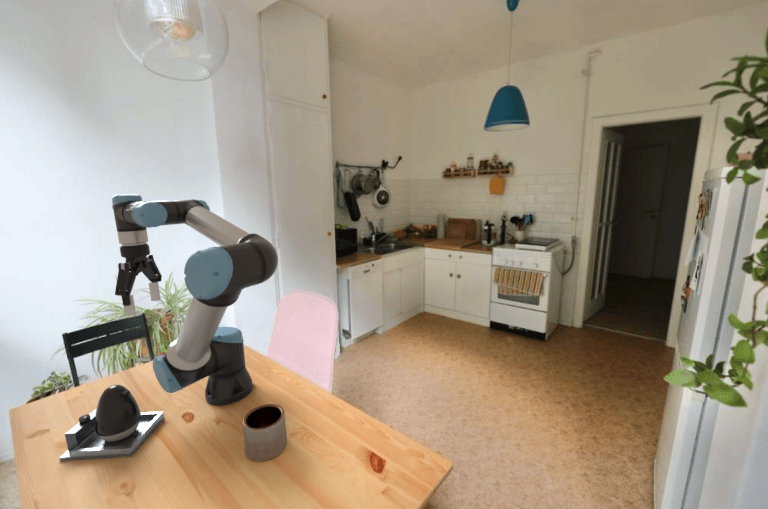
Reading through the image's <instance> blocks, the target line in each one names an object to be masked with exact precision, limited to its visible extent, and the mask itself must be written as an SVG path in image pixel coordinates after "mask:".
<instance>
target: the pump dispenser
mask: <svg viewBox="0 0 768 509" xmlns="http://www.w3.org/2000/svg"><path fill="white" fill-rule="evenodd" d="M98 399H99V400H98V402H97V406H96V409H95V410H96V416H95V431H96V434H97V435H99V436H100V438H101V439H103V440H105V441H109V442H114V441H119V440H122V439H124V438H126V437H128V436H129V435H131V434H132V433H133V432H134V431H135V430H136V429H137V427H138V425H139V423H140V419H141V412H142V411H141V408H140V406H139V404H138V402H137V400H136V398H135V396H134V395H133V394H132V393H131V391H130V390H129V389H128V388H126V387H125V386H124V385H122V384H113V385H110V386H108V387H107V388H105V389H104V390H103V392H102V393H101V394H100V397H99V398H98Z"/></svg>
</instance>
